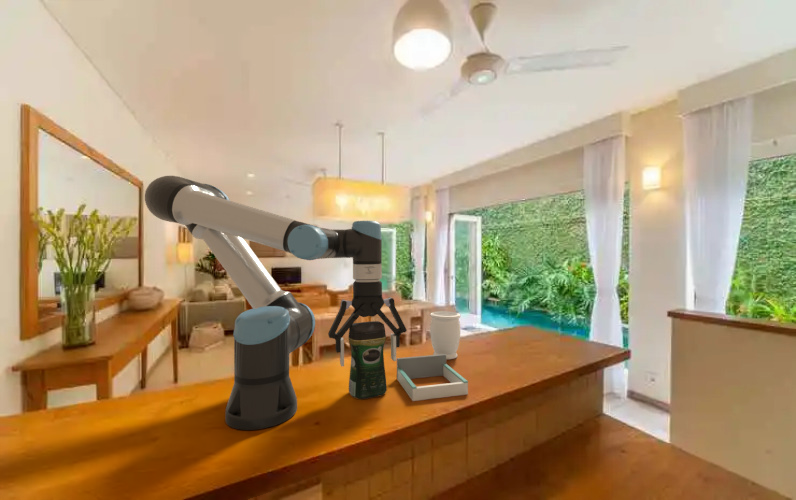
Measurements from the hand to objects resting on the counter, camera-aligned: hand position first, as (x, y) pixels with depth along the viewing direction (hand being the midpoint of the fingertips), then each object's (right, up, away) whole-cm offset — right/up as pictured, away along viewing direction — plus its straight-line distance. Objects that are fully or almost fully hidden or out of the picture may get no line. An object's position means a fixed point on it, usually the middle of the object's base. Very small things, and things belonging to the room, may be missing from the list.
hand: (368, 362), depth 88 cm
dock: (+17, -8, +5) cm, 19 cm away
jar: (+24, -8, +31) cm, 40 cm away
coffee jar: (0, -8, 0) cm, 8 cm away
